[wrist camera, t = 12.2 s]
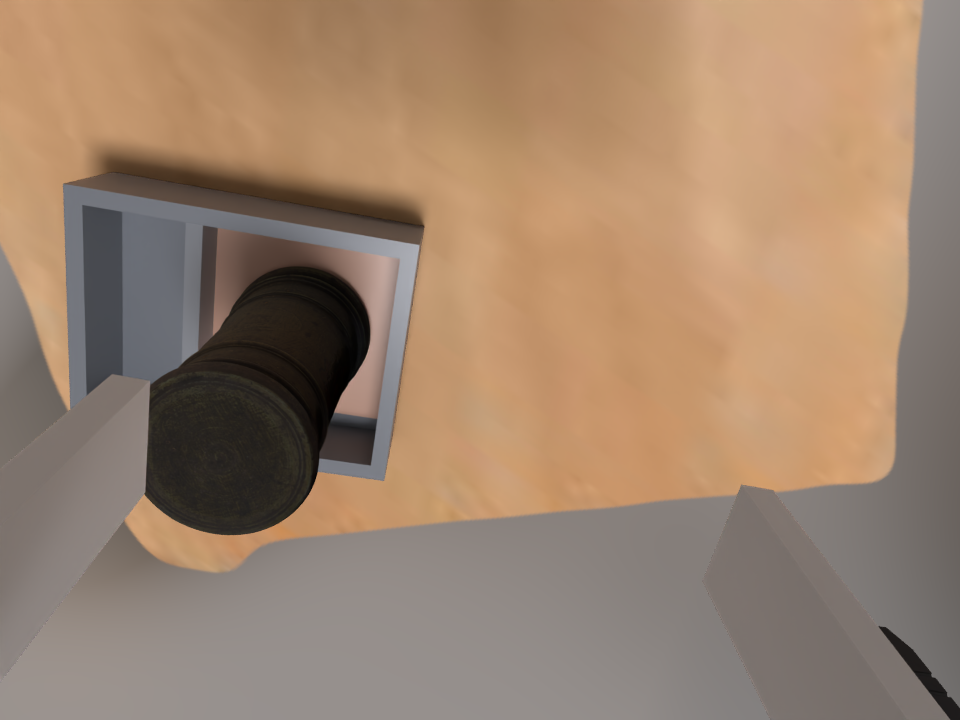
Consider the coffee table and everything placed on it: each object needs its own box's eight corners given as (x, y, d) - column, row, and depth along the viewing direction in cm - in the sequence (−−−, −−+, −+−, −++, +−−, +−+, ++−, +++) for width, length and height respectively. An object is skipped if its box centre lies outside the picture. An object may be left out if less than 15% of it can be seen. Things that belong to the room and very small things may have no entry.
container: (209, 321, 47) (69, 452, 30) (303, 235, 45) (209, 322, 28) (305, 412, 49) (226, 578, 33) (398, 334, 48) (364, 468, 31)
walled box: (113, 172, 44) (63, 183, 39) (424, 226, 46) (419, 245, 40) (114, 398, 50) (71, 437, 44) (392, 438, 52) (384, 480, 46)
